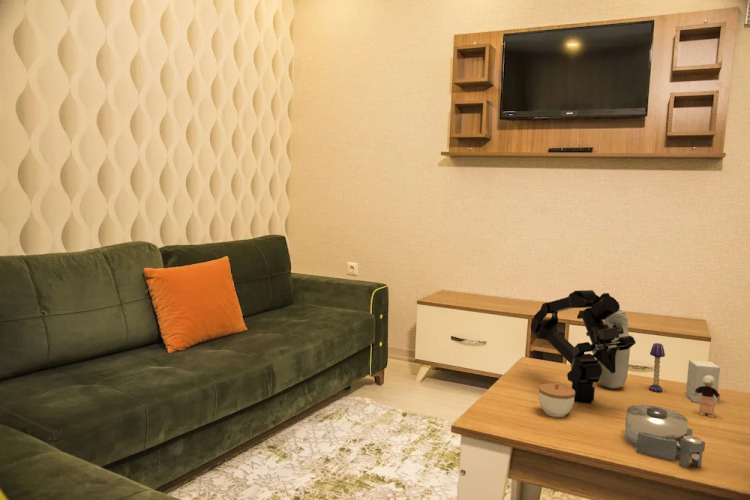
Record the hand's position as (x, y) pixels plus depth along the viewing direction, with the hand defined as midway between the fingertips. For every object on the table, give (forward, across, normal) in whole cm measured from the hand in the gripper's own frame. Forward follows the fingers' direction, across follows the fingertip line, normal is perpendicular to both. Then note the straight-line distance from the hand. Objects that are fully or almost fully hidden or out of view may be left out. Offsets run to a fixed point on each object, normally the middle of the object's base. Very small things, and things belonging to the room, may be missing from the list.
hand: (613, 372), depth 169 cm
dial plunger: (+28, 0, -17) cm, 33 cm away
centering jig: (+28, 0, -15) cm, 31 cm away
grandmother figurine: (+15, +29, +10) cm, 34 cm away
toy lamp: (+2, +27, +27) cm, 38 cm away
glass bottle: (-2, +13, +29) cm, 32 cm away
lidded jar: (+8, -19, +8) cm, 22 cm away
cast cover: (+22, 0, -7) cm, 24 cm away
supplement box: (+9, +37, +20) cm, 43 cm away
